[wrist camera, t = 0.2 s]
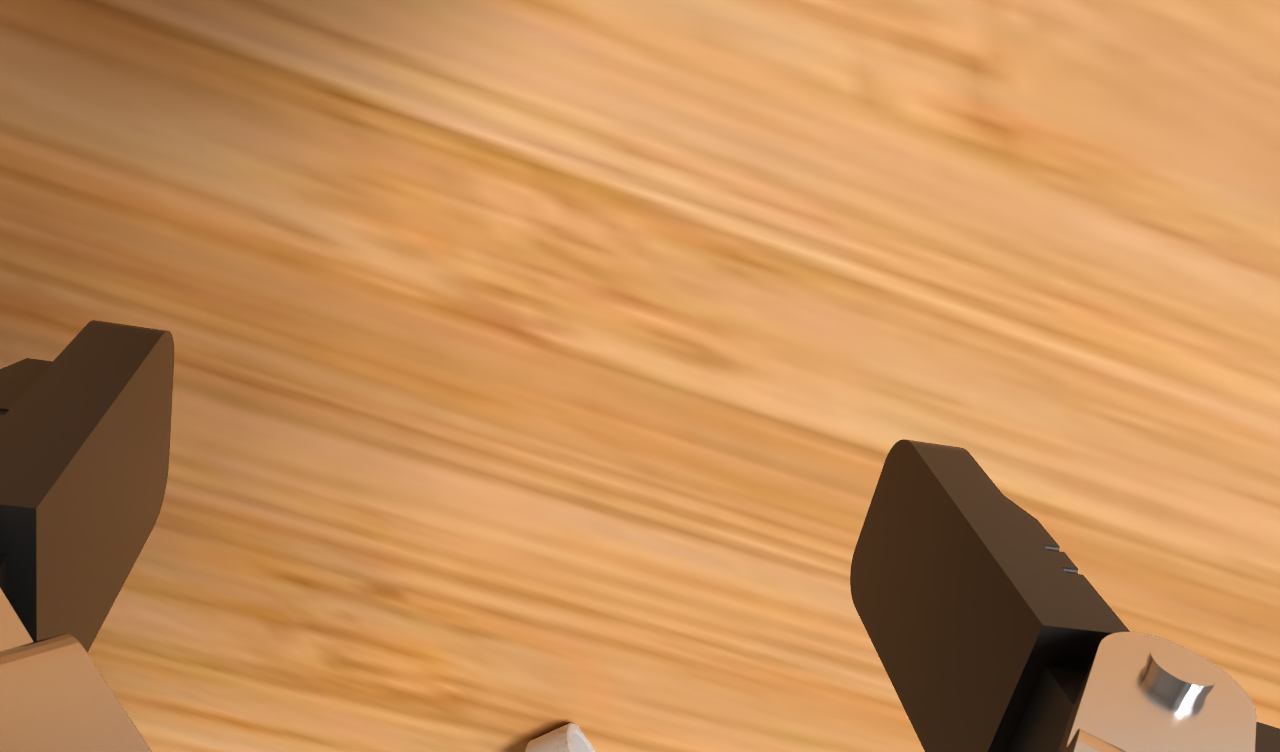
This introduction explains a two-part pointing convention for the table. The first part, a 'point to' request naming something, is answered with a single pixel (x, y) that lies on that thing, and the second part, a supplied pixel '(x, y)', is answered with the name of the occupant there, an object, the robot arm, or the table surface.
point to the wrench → (561, 741)
